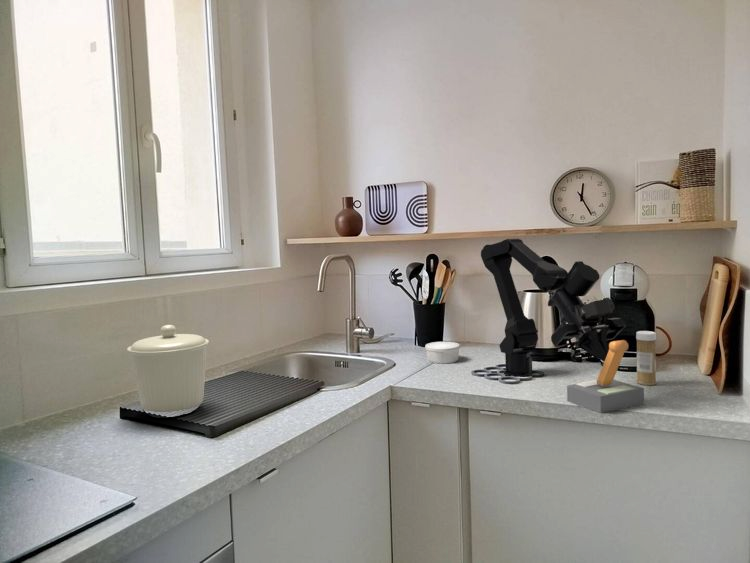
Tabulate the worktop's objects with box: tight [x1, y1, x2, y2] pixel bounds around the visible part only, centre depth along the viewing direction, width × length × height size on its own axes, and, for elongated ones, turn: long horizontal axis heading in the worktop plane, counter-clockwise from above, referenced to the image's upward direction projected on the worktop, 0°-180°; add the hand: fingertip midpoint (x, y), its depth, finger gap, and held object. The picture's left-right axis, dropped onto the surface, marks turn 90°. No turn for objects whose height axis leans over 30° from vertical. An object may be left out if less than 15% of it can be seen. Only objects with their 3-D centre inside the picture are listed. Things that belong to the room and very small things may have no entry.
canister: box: [126, 324, 210, 412], centre depth 124 cm, size 18×18×21 cm
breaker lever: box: [596, 339, 629, 387], centre depth 117 cm, size 2×3×12 cm
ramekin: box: [424, 341, 461, 365], centre depth 168 cm, size 11×11×5 cm
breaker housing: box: [566, 379, 645, 414], centre depth 120 cm, size 10×13×4 cm
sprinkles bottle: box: [635, 330, 657, 386], centre depth 134 cm, size 5×5×14 cm
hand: (608, 361), depth 118 cm, fingers closed, pressing on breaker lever
